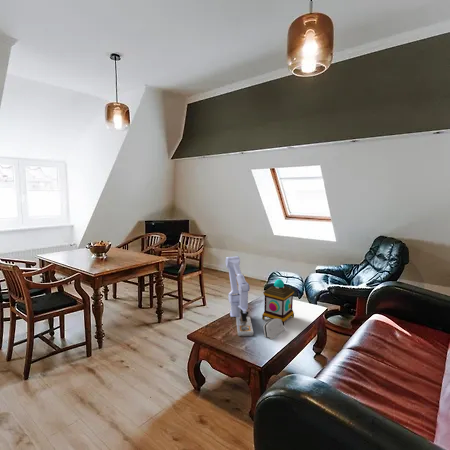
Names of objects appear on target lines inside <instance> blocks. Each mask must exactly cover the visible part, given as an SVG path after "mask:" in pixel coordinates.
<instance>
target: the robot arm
mask: <svg viewBox="0 0 450 450" xmlns="http://www.w3.org/2000/svg"><path fill="white" fill-rule="evenodd" d="M224 261H225V267H226V269H227V270H228V276H229V283H230V284H229V285H230V292H228V296H227V298H228V302H229V304H230V311H229V314H230V317H233V318H234V317H235V318H236V317H241V316H242V321H246V318H247V317H248V315H249V311H247V310H248V308H249V292H250V284H249V282H247V281H246V279H245V278H246V277H245V276H244V274H242V269H241V267H240V263H241V259H240V257H239V256H238V255H236V256H226V257H225V259H224Z"/></svg>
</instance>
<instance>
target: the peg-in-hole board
mask: <svg viewBox="0 0 450 450" xmlns="http://www.w3.org/2000/svg"><path fill="white" fill-rule="evenodd" d="M235 322H236V331H237V336H239V337H240V336H241V337H247V336H254V329H253V324H252V321H251V316H247V318H246V322H241V317H235Z"/></svg>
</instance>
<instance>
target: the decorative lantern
mask: <svg viewBox="0 0 450 450" xmlns="http://www.w3.org/2000/svg"><path fill="white" fill-rule="evenodd" d="M294 293H295V290H294V289H292V288H291V287H288V286H287V285H286V284H285V283H284V281H283V280H282V279H281V278H278V279H276V280H275V281H274V283H273V285H272V286H270V287H269V288H266V289H265V290H264V291H263V295H264V307H263V309H264V311H263V313H262V314H261V317H262V320H265V319H266V318H268V319H270V320H272V319H281V320H282V323H283V326H285V322H286V321H288V320H289V319H290V318H295V312H294V310H293V303H294V302H293V300H294Z"/></svg>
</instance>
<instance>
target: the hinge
mask: <svg viewBox="0 0 450 450" xmlns="http://www.w3.org/2000/svg"><path fill="white" fill-rule="evenodd" d="M284 326H285V325H284ZM284 326H283V323H282V320H281V319H270V320H267V321H266V322H265V323H264V324H263V327H262V328H263V334H264V338H269V340H273V339H275V338H277V337H278V336H280V335H281V334H283V333H285V332H287V330H286V327H284Z"/></svg>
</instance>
